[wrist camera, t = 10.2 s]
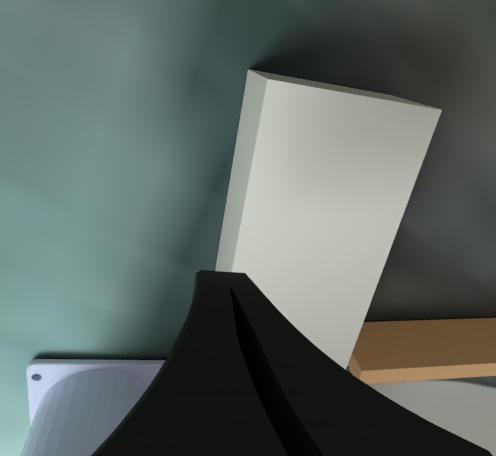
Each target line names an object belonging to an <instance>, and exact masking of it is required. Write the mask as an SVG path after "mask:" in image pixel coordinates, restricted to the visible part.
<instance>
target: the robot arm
mask: <svg viewBox="0 0 496 456" xmlns="http://www.w3.org/2000/svg"><path fill="white" fill-rule="evenodd" d="M26 372H27V385H28V398H29V411H30V424H31V427H30V430H29V433H28V435H27V438H26V441H25V444H24V446H23V449H22V452H21V455H20V456H492V455H491V453H490V452H489V451H488V450H486V449H484V448H482V447H479V446H478V445H476V444H474V443H471V442H469V441H467V440H465V439H463V438H461V437H459V436H457V435H455V434H453V433H451V432H449V431H447V430H445V429H443V428H440V427H439V426H436V425H435V424H433V423H431V422H429V421H427V420H425V419H423V418H422V417H420V416H418V415H416V414H415V413H413V412H411V411H409V410H407V409H406V408H404V407H402V406H400V405H399V404H397V403H395V402H394V401H392V400H390V399H389V398H387V397H385V396H384V395H382V394H381V393H379V392H377V391H376V390H375V389H373V388H371V387H370V386H369V385H367V384H366V383H364V382H363V381H361V380H360V379H358V378H357V377H355V376H354V375H352V374H351V373H350V372H348V371H347V370H345V369H344V368H343V367H341V366H340V365H339V364H338V363H336V362H335V361H334V360H332V359H331V358H330V357H329V356H327V355H326V354H325V353H324V352H322V351H321V350H320V349H319V348H318V347H316V346H315V345H314V344H313V343H312V342H311V341H310V340H309V339H307V338H306V337H305V336H304V335H303V334H302V333H301V332H300V331H299V330H298V329H297V328H296V327H295V326H294V325H293V324H292V323H291V322H290V321H289V320H288V319H287V318H286V317H285V316H284V315H283V314H282V313H281V312H280V311H279V310H278V309H277V308H276V307H275V306H274V305H273V304H272V303H271V301H270V300H269V299H268V298H267V297H266V296H265V295H264V294H263V293H262V291H261V290H260V289H259V288H258V287H257V286H256V284H255V283H254V282H253V281H252V280H251V279H250V278H249V277H248V275H247V274H246V273H239V272H222V271H205V270H200V271H199V272H197V273H196V276H195V283H194V290H193V298H192V305H191V308H190V311H189V314H188V316H187V319H186V321H185V323H184V326H183V328H182V330H181V332H180V334H179V337H178V339H177V341H176V342H175V344H174V346H173V348H172V350H171V352H170V354H169V355H168V357H167V359H166V360H74V359H35V360H32V361H30V362H29V364H28V366H27V369H26ZM35 374H39V376H38V375H35Z"/></svg>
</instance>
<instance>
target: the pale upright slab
mask: <svg viewBox="0 0 496 456" xmlns="http://www.w3.org/2000/svg"><path fill="white" fill-rule="evenodd" d="M441 111H442V110H441V109H437V108H434V107H430V106H427V105H423V104H420V103H417V102H413V101H410V100H406V99H403V98H400V97H396V96H393V95H388V94H383V93H377V92H372V91H366V90H361V89H355V88H349V87H344V86H338V85H333V84H327V83H322V82H316V81H311V80H305V79H300V78H294V77H289V76H283V75H278V74H272V73H267V72H261V71H255V70H250V69H248V73H247V79H246V85H245V91H244V97H243V103H242V110H241V116H240V122H239V128H238V134H237V140H236V146H235V152H234V158H233V164H232V170H231V176H230V183H229V189H228V195H227V201H226V207H225V213H224V219H223V225H222V231H221V237H220V243H219V249H218V256H217V262H216V268H215V271H222V272H239V273H246V274H247V275H248V277H249V278H250V279H251V280H252V281H253V282H254V283H255V284H256V286H257V287H258V288H259V289H260V290H261V291H262V293H263V294H264V295H265V296H266V297H267V298H268V299H269V300H270V301H271V303H272V304H273V305H274V306H275V307H276V308H277V309H278V310H279V311H280V312H281V313H282V314H283V315H284V316H285V317H286V318H287V319H288V320H289V321H290V322H291V323H292V324H293V325H294V326H295V327H296V328H297V329H298V330H299V331H300V332H301V333H302V334H303V335H304V336H305V337H306V338H307V339H309V340H310V341H311V342H312V343H313V344H314V345H315V346H316V347H318V348H319V349H320V350H321V351H322V352H324V353H325V354H326V355H327V356H329V357H330V358H331V359H332V360H334V361H335V362H336V363H338V364H339V365H340V366H341V367H343V368H344V369H345V370H346V368H347V365H348V362H349V360H350V357H351V354H352V352H353V349H354V346H355V344H356V341H357V338H358V335H359V333H360V330H361V327H362V325H363V322H364V319H365V317H366V314H367V311H368V308H369V306H370V303H371V300H372V298H373V295H374V292H375V290H376V287H377V284H378V281H379V279H380V276H381V273H382V271H383V268H384V265H385V262H386V260H387V257H388V254H389V252H390V249H391V246H392V244H393V241H394V238H395V235H396V233H397V230H398V227H399V225H400V222H401V219H402V217H403V214H404V211H405V208H406V206H407V203H408V200H409V198H410V195H411V192H412V190H413V187H414V184H415V181H416V179H417V176H418V173H419V171H420V168H421V165H422V163H423V160H424V157H425V154H426V152H427V149H428V146H429V144H430V141H431V138H432V136H433V133H434V130H435V127H436V125H437V122H438V119H439V117H440V114H441Z"/></svg>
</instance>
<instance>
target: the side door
mask: <svg viewBox="0 0 496 456" xmlns="http://www.w3.org/2000/svg"><path fill="white" fill-rule="evenodd" d="M348 367H349V369H350V371H351V373H352V374H353V375H354V376H355V377H357V378H358V379H360V380H361V381H363V382H364V383H366V384H375V383H390V382H405V381H421V380H436V379H451V378H466V377H482V376H496V318H476V319H445V320H414V321H383V322H363V325H362V327H361V330H360V333H359V335H358V338H357V341H356V344H355V346H354V349H353V352H352V354H351V357H350V360H349V362H348Z"/></svg>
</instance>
